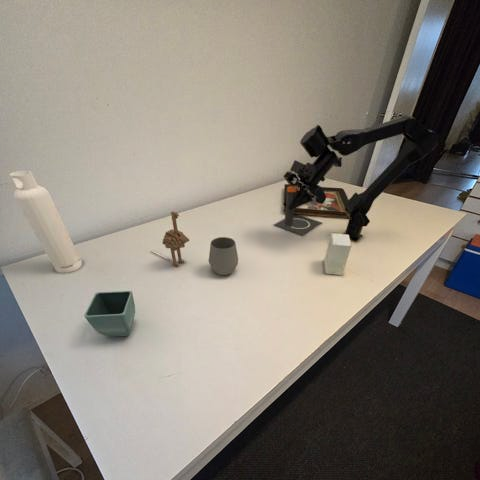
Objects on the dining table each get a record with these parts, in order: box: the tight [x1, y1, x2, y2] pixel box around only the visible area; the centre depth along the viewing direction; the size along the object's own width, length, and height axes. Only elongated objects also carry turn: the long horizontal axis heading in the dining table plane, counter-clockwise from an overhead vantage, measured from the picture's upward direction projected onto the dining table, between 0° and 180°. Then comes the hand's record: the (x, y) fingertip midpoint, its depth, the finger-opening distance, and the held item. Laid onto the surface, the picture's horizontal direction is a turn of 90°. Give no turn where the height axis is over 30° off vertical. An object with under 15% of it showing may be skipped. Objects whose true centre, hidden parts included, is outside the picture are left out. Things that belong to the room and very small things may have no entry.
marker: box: [284, 186, 297, 227], centre depth 91 cm, size 3×3×13 cm
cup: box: [208, 236, 239, 276], centre depth 83 cm, size 10×9×10 cm
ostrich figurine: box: [151, 211, 190, 268], centre depth 85 cm, size 17×7×18 cm, turn 54°
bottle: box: [9, 169, 83, 274], centre depth 77 cm, size 8×8×28 cm
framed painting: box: [283, 183, 349, 219], centre depth 129 cm, size 38×35×3 cm
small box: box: [323, 232, 352, 276], centre depth 85 cm, size 8×6×10 cm
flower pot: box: [83, 290, 136, 338], centre depth 64 cm, size 9×9×9 cm
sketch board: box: [273, 214, 322, 237], centre depth 112 cm, size 16×14×1 cm
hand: (286, 207), depth 91 cm, fingers closed on marker, 3 cm apart
